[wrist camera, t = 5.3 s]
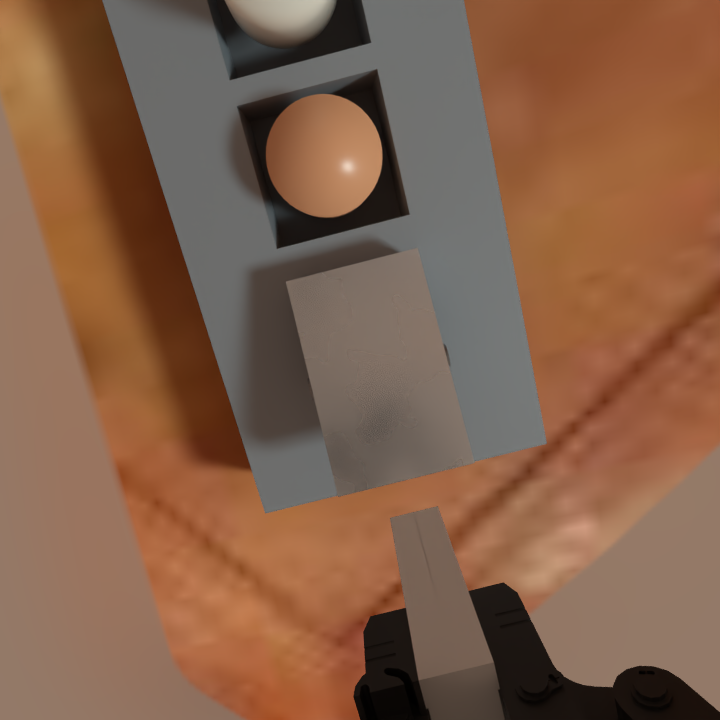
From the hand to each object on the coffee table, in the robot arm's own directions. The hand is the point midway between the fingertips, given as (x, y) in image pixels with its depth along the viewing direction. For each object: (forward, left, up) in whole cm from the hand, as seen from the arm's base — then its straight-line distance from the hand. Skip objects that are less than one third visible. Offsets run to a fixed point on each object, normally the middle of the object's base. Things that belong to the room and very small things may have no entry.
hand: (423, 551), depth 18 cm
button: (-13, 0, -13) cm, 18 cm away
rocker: (-4, 0, -8) cm, 9 cm away
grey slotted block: (-11, 0, -14) cm, 18 cm away
